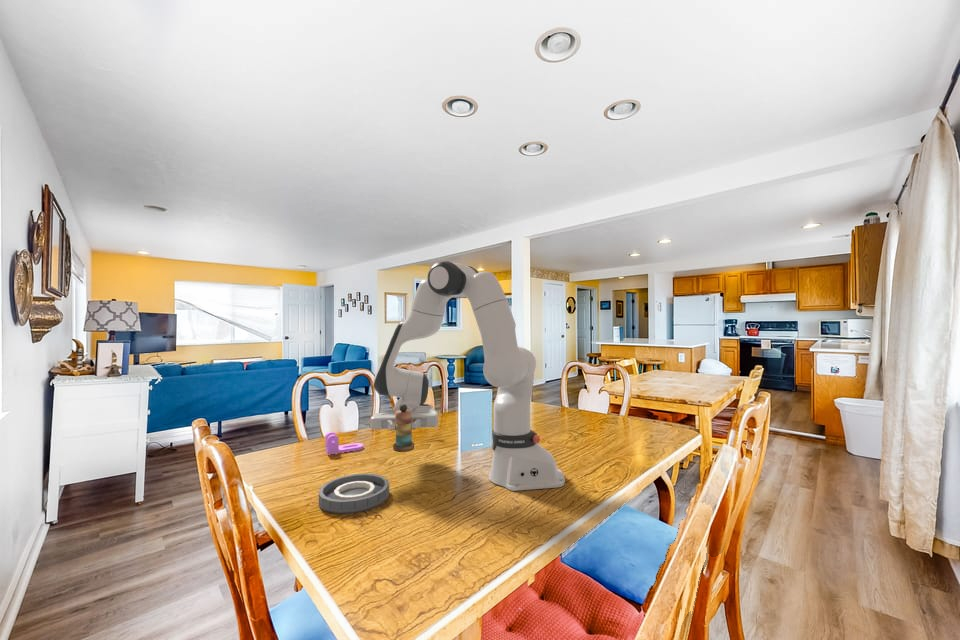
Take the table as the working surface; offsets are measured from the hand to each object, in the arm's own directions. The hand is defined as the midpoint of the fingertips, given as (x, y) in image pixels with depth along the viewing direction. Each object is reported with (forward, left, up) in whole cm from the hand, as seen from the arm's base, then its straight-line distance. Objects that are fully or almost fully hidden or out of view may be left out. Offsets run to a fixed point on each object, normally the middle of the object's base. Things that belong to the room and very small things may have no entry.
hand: (403, 426), depth 114 cm
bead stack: (0, -1, -6) cm, 7 cm away
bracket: (+29, -31, -17) cm, 46 cm away
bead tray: (+12, +8, -17) cm, 22 cm away
